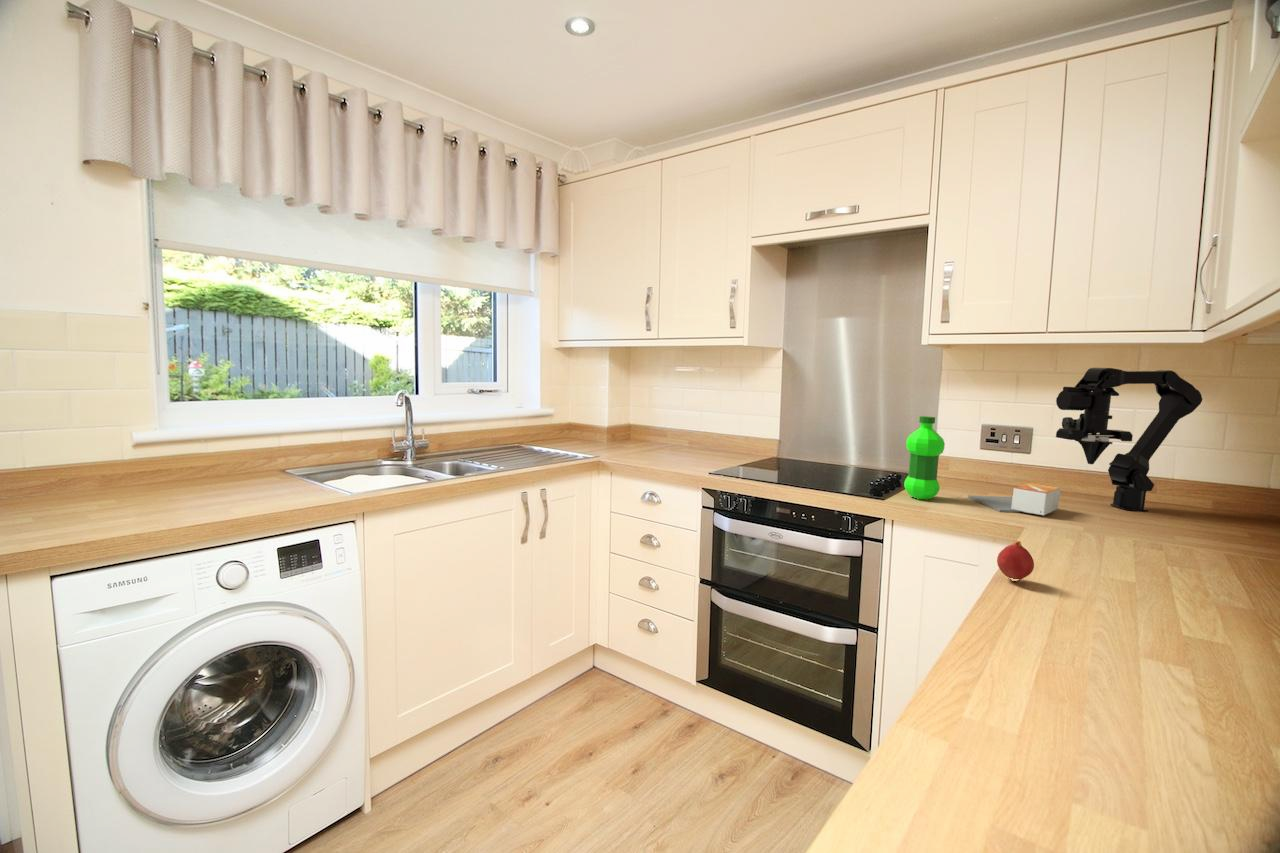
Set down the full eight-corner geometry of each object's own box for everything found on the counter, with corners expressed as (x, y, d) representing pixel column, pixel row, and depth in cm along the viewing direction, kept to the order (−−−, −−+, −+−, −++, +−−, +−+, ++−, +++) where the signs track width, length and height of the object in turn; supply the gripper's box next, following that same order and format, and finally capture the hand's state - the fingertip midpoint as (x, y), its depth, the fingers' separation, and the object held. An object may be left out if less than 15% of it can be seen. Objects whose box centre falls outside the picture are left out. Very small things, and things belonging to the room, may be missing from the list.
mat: (1014, 498, 181) (1014, 497, 181) (1051, 513, 164) (1051, 511, 163) (967, 497, 182) (967, 495, 182) (999, 511, 164) (999, 509, 164)
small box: (1061, 487, 166) (1047, 493, 158) (1058, 509, 167) (1044, 516, 159) (1028, 482, 172) (1013, 487, 164) (1026, 503, 173) (1010, 509, 165)
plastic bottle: (920, 493, 186) (927, 415, 183) (947, 501, 176) (954, 418, 173) (894, 494, 182) (901, 415, 180) (920, 503, 172) (927, 418, 170)
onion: (989, 575, 113) (992, 535, 112) (1019, 576, 113) (1023, 536, 112) (1006, 586, 107) (1011, 544, 107) (1038, 588, 107) (1043, 545, 106)
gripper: (1105, 409, 178) (1098, 460, 180) (1045, 407, 177) (1039, 458, 179) (1137, 412, 167) (1130, 466, 168) (1073, 411, 166) (1067, 465, 168)
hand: (1090, 464), depth 171 cm, fingers closed
